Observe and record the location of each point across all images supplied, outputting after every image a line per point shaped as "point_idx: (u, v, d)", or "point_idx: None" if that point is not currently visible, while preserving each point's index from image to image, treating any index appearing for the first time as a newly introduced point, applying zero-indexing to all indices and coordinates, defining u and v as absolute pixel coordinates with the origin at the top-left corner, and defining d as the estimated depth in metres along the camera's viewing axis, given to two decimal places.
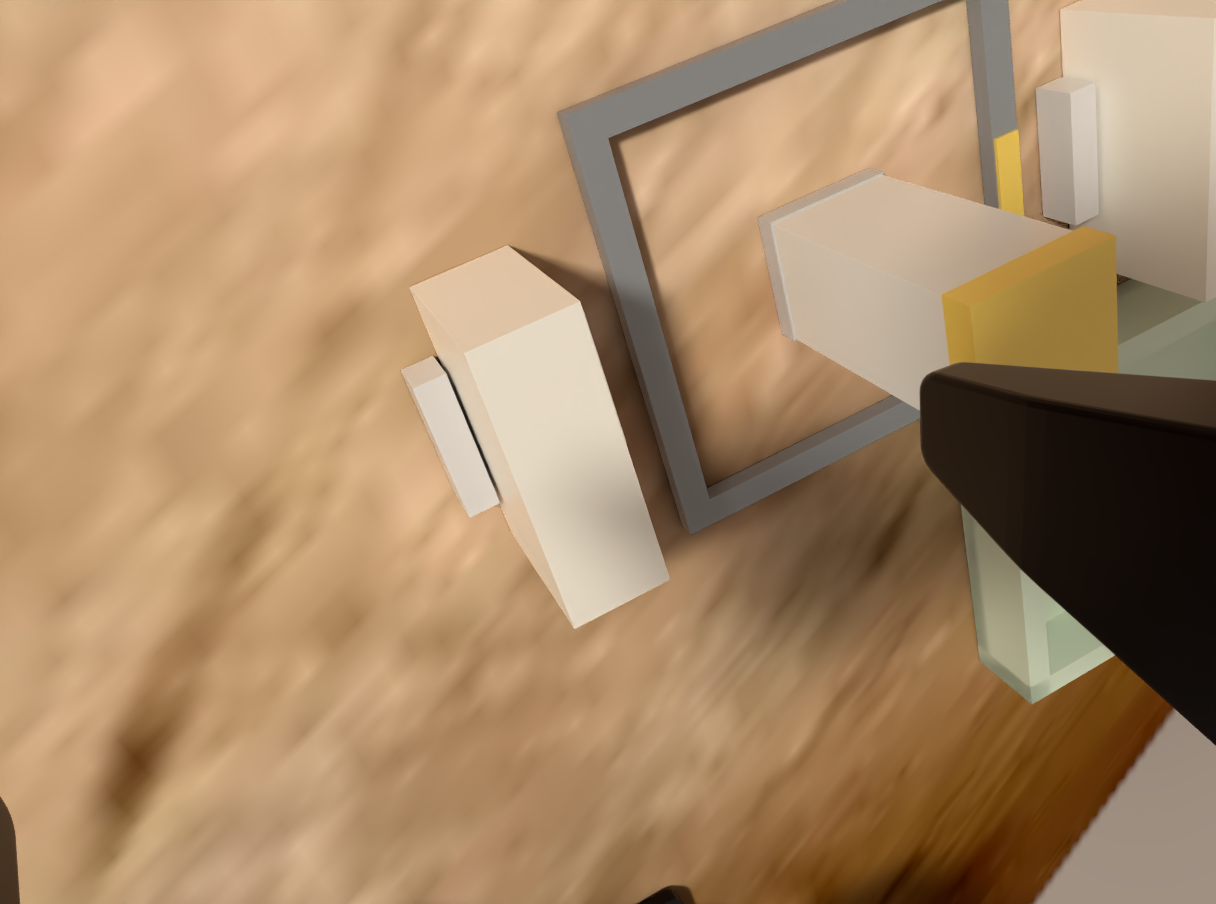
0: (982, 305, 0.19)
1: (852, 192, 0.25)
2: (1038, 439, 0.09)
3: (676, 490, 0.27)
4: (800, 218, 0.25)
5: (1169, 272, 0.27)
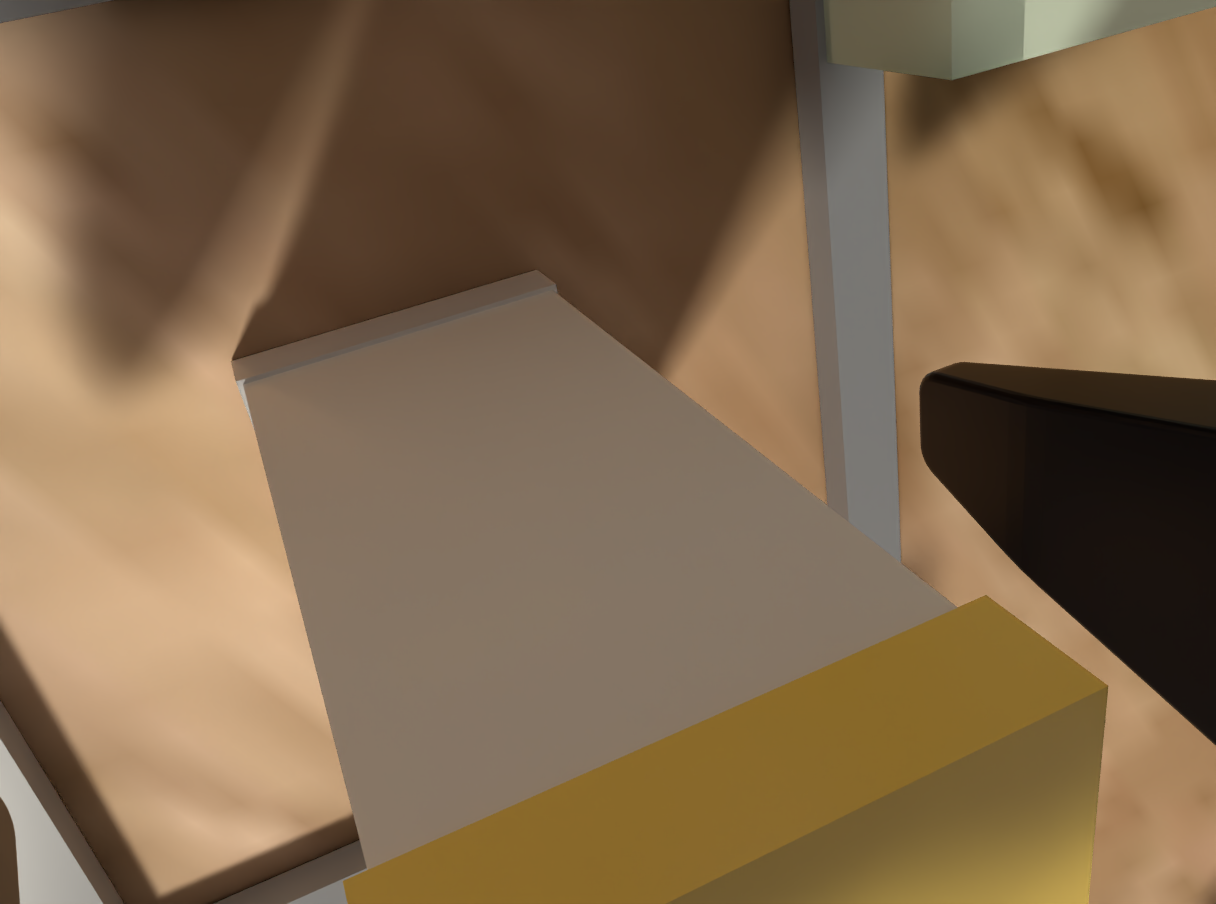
0: None
1: None
2: (1038, 439, 0.09)
3: None
4: None
5: None
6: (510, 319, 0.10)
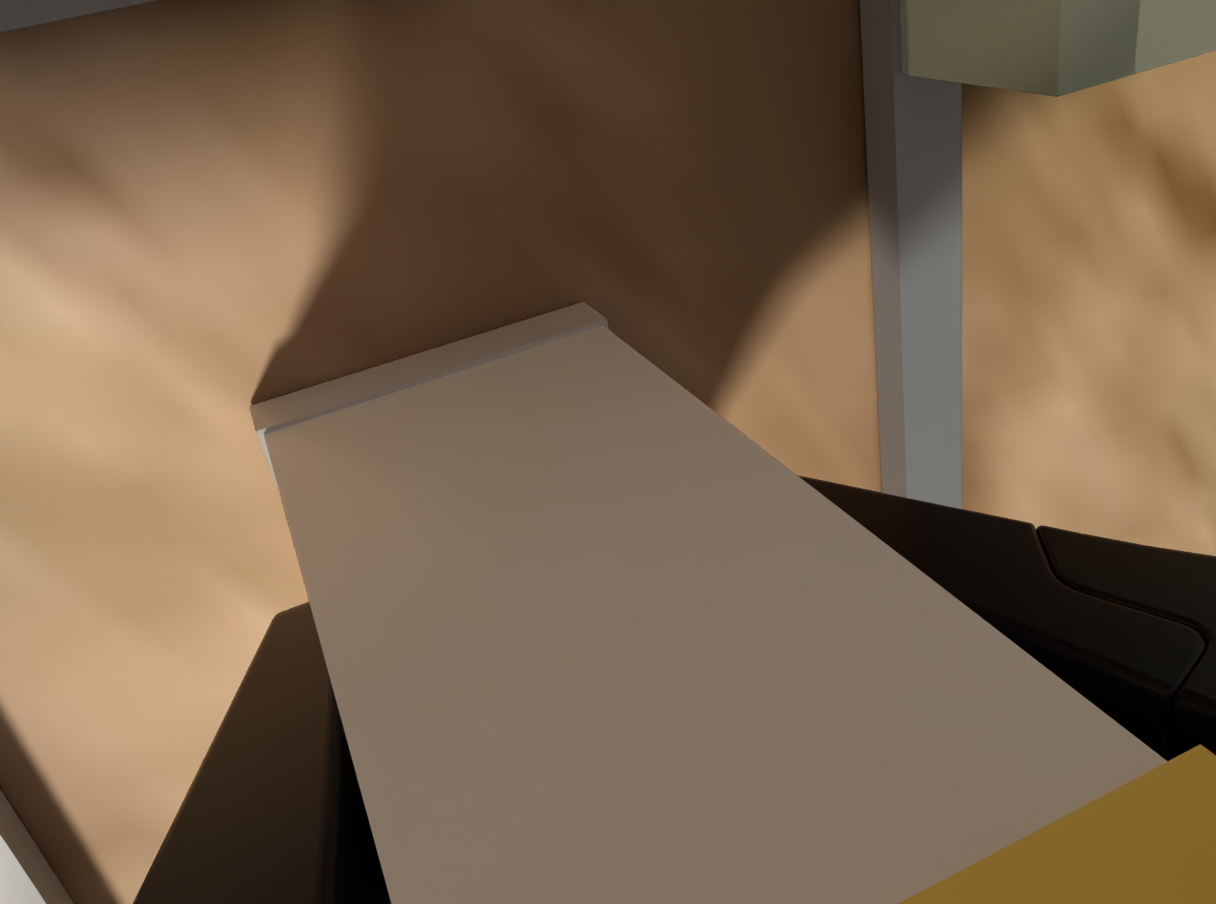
0: None
1: None
2: None
3: None
4: None
5: None
6: (559, 360, 0.09)
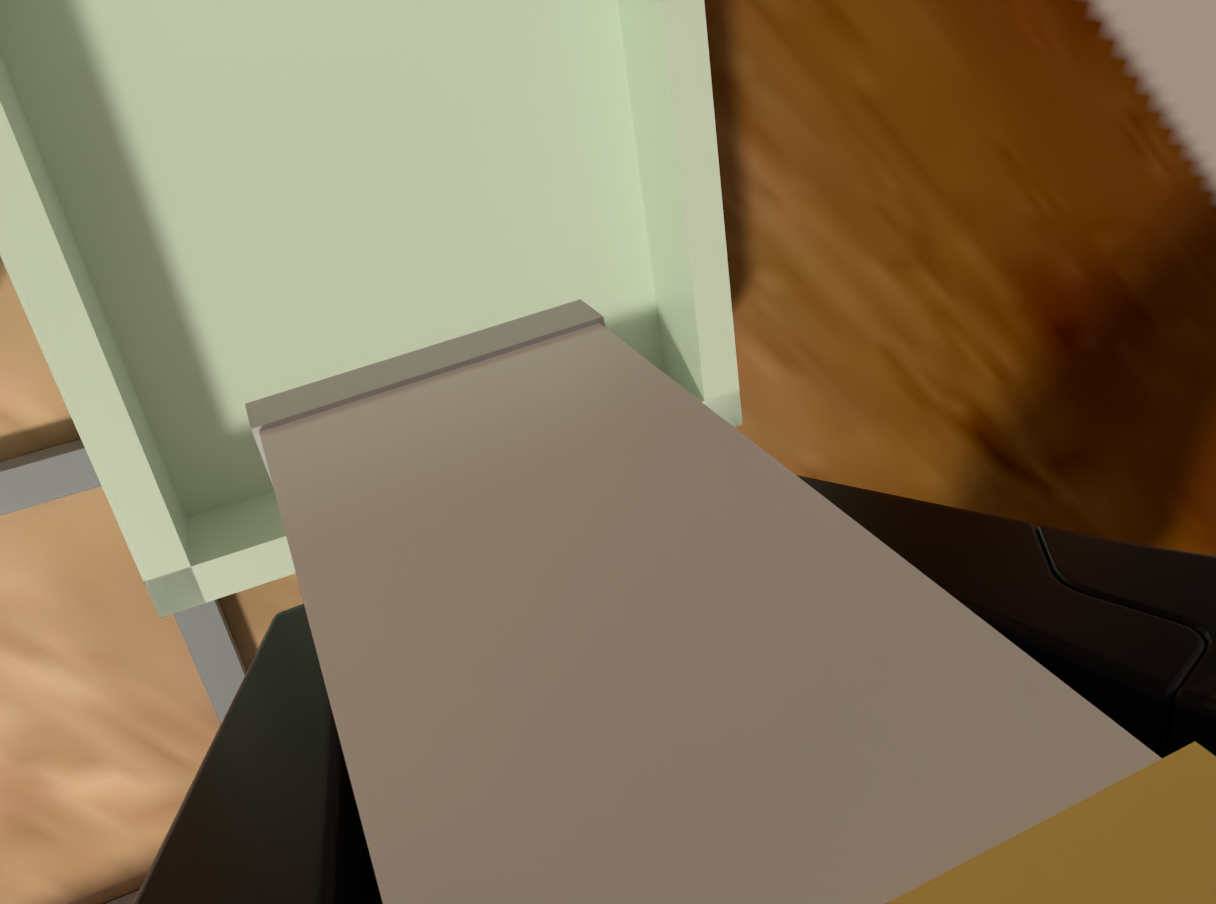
0: None
1: None
2: None
3: None
4: None
5: None
6: (555, 357, 0.09)
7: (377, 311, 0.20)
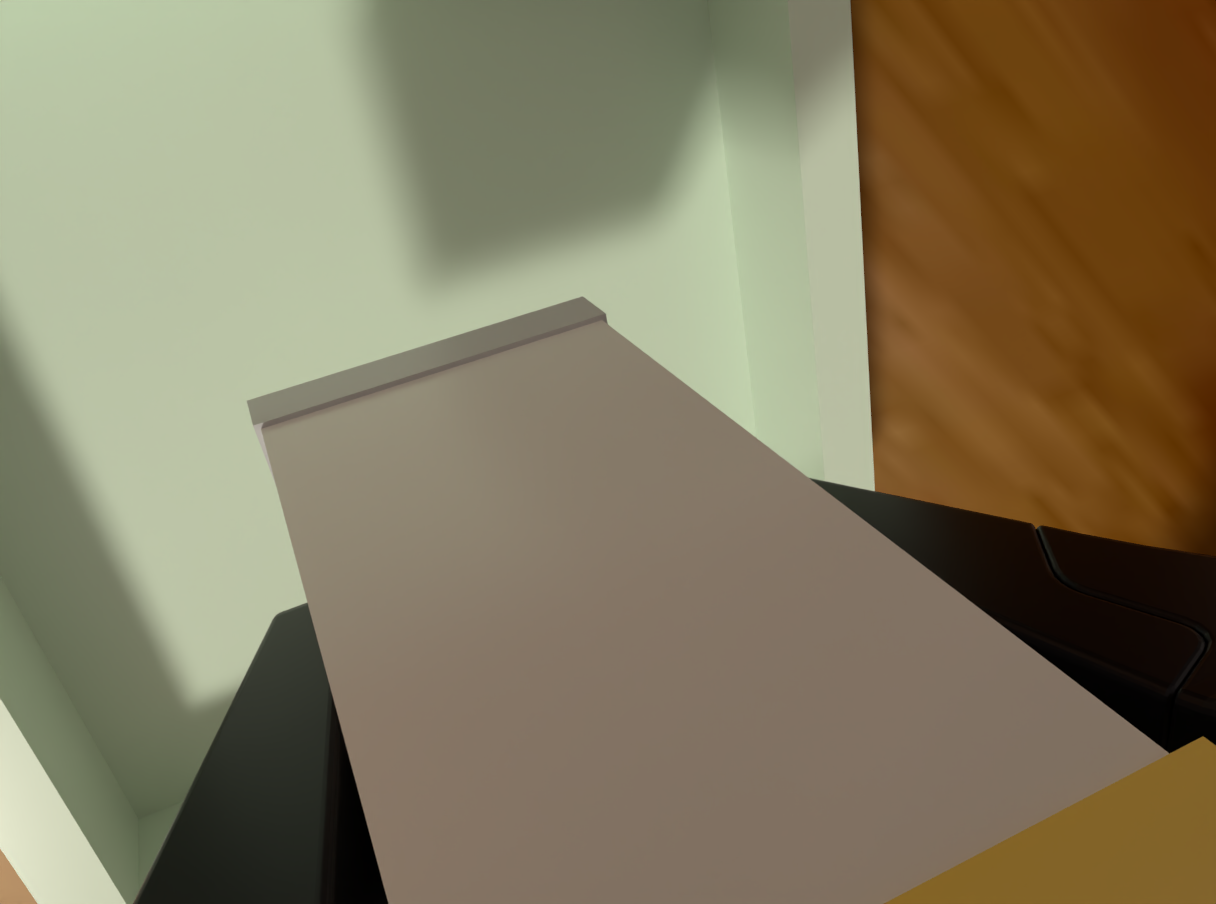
0: None
1: None
2: None
3: None
4: None
5: None
6: (558, 354, 0.09)
7: None
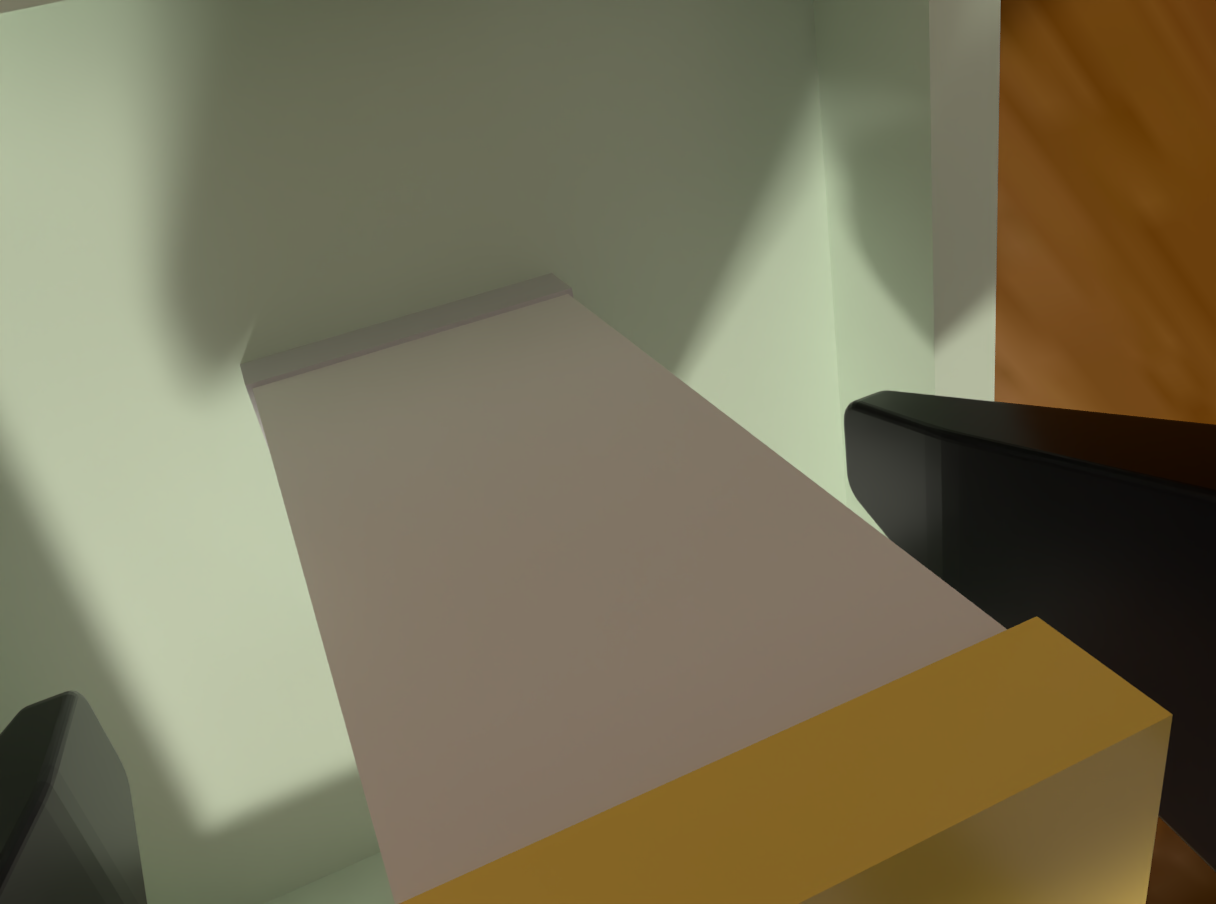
0: None
1: None
2: (953, 473, 0.09)
3: None
4: None
5: None
6: (526, 323, 0.10)
7: None
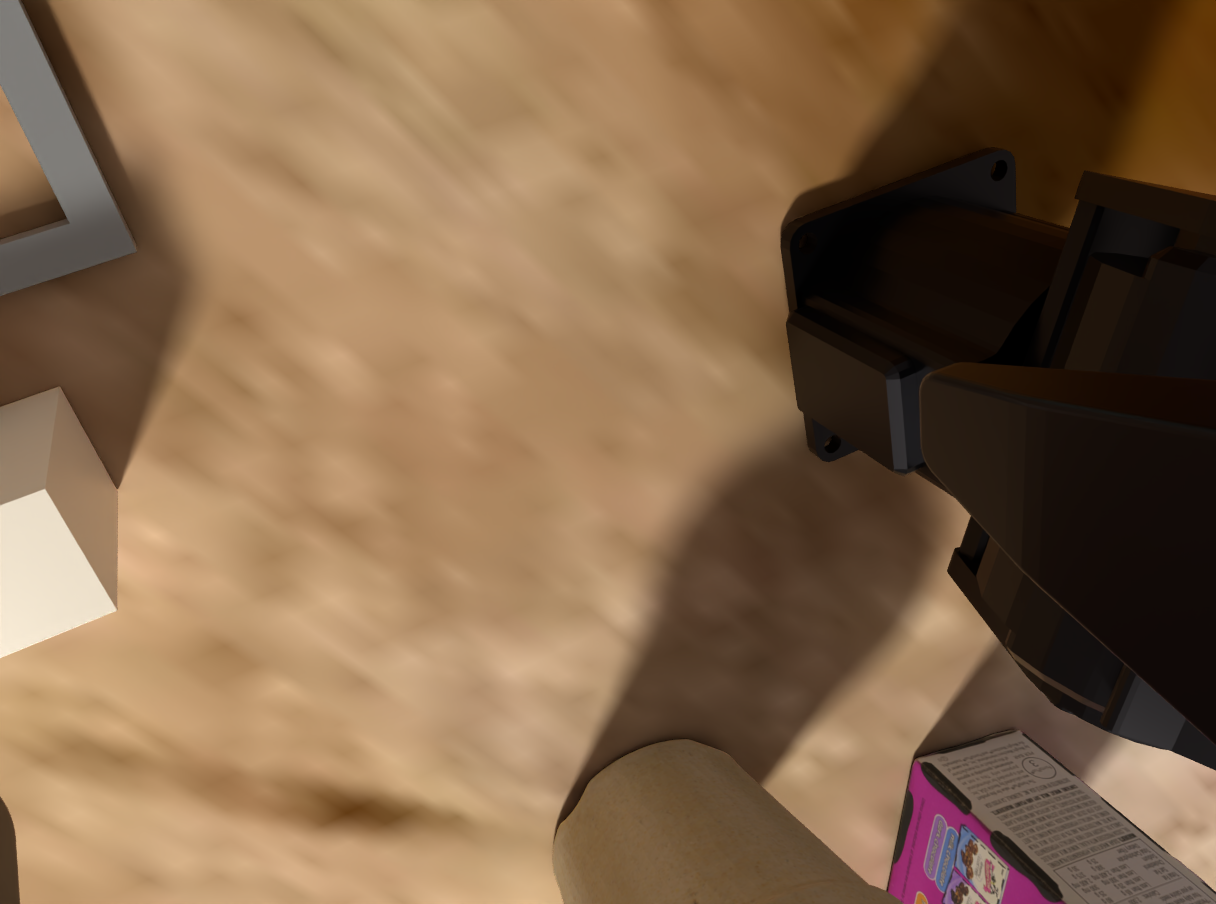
0: None
1: None
2: (1038, 439, 0.09)
3: (50, 278, 0.18)
4: None
5: None
6: None
7: None
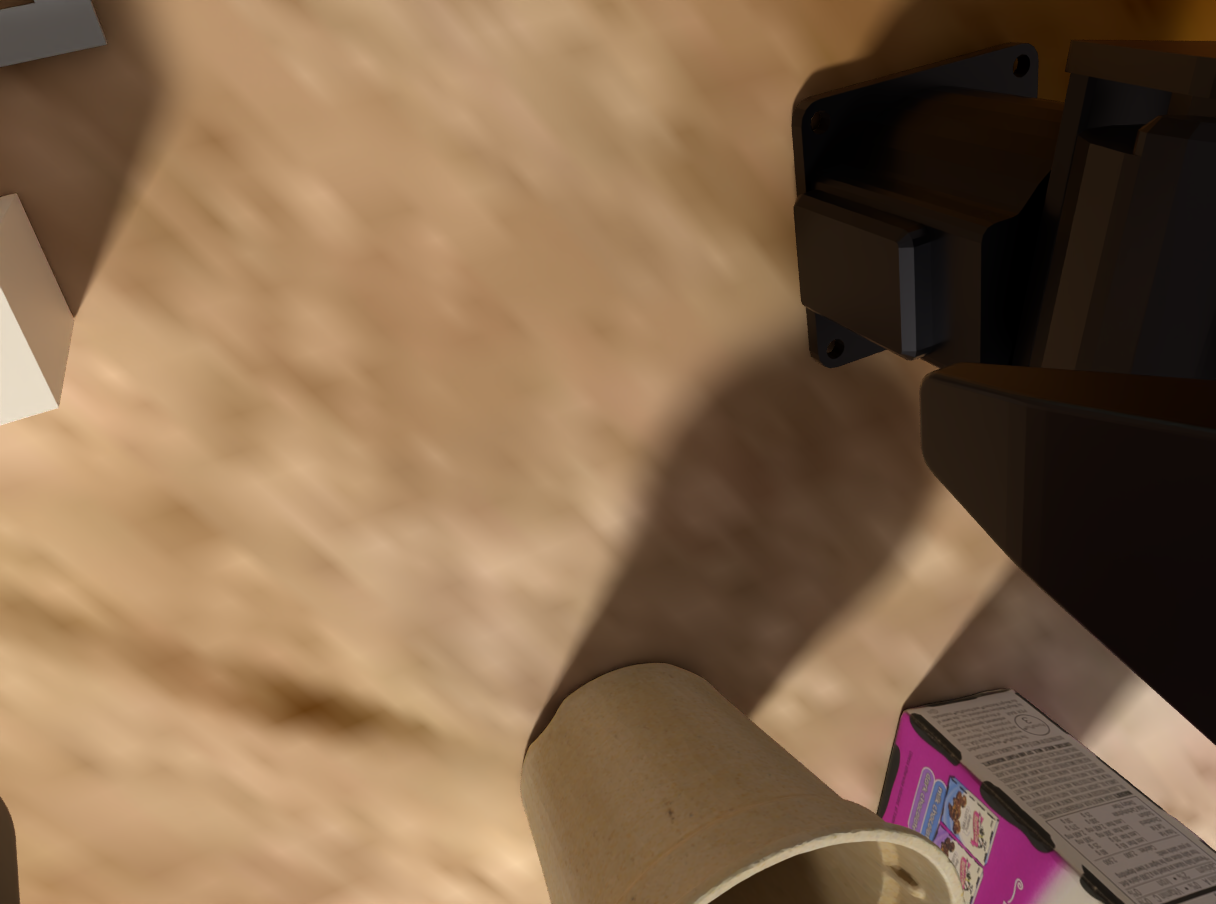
0: None
1: None
2: (1038, 439, 0.09)
3: (11, 64, 0.17)
4: None
5: None
6: None
7: None
